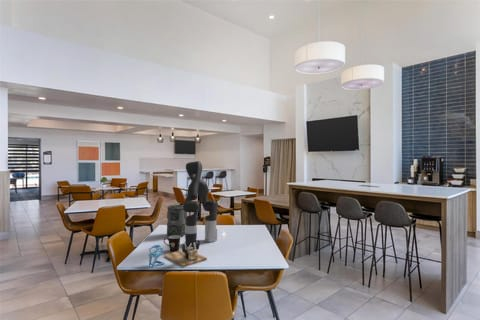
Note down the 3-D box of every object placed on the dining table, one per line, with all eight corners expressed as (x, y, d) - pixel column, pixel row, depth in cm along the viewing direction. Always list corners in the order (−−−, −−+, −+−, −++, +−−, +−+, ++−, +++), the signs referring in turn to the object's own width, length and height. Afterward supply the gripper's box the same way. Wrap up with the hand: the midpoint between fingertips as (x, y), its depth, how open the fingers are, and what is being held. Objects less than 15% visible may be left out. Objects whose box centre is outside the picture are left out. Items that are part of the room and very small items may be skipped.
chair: (146, 265, 169) (146, 246, 169) (156, 261, 176) (157, 243, 176) (154, 268, 165) (154, 249, 165) (164, 264, 172) (165, 245, 172)
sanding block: (189, 255, 183) (189, 247, 183) (197, 259, 176) (197, 250, 176) (183, 257, 179) (183, 248, 179) (191, 261, 173) (191, 252, 173)
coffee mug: (182, 250, 199) (182, 236, 199) (174, 253, 191) (174, 239, 191) (171, 247, 205) (171, 234, 205) (162, 250, 197) (162, 236, 197)
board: (186, 250, 197) (186, 248, 197) (206, 259, 180) (206, 257, 180) (164, 256, 184) (164, 254, 184) (183, 267, 167) (183, 264, 167)
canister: (181, 238, 227) (181, 205, 227) (163, 237, 230) (164, 204, 230) (187, 233, 243) (188, 202, 243) (171, 232, 245) (171, 201, 245)
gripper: (196, 228, 185) (196, 253, 185) (178, 232, 175) (178, 258, 175) (203, 231, 180) (202, 256, 180) (184, 234, 170) (184, 261, 170)
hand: (190, 257), depth 178 cm, fingers closed on sanding block, 5 cm apart
